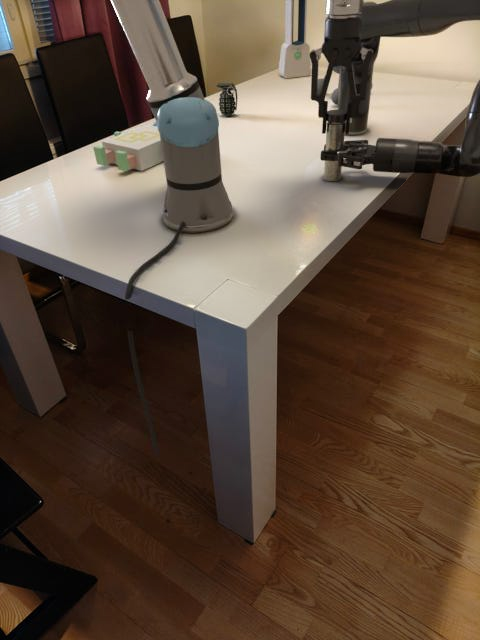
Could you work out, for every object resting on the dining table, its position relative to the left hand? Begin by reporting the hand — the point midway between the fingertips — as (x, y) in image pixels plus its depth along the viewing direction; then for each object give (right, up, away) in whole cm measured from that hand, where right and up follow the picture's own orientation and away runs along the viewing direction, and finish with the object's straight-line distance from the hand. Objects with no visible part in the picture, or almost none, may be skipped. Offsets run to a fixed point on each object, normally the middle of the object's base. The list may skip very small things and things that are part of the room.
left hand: (335, 131), depth 114 cm
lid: (0, +3, -2) cm, 4 cm away
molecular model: (+17, +38, +66) cm, 78 cm away
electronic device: (+1, +63, +99) cm, 117 cm away
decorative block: (-50, +3, +26) cm, 56 cm away
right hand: (-2, -4, +4) cm, 6 cm away
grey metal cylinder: (+1, -9, +7) cm, 11 cm away
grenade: (-26, +27, +55) cm, 67 cm away
